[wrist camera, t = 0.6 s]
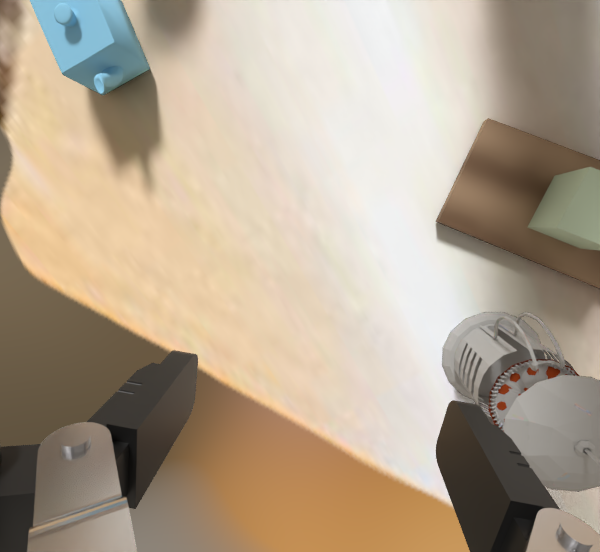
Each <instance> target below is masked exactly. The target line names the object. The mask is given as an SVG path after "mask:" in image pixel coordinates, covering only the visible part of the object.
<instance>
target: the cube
mask: <svg viewBox="0 0 600 552" xmlns="http://www.w3.org/2000/svg"><path fill="white" fill-rule="evenodd" d="M528 228H530V229H533V230H535V231H538V232H540V233H543V234H545V235H548V236H550V237H553V238H555V239H558V240H560V241H563V242H565V243H568V244H570V245H573V246H575V247H578V248H580V249H590V250H600V170H598V169H595V168H593V167H587V168H583V169H579V170H575V171H571V172H567V173H563V174H559V175H555V176H554V178H553V180H552V182H551V183H550V185H549V187H548V189H547V191H546V193H545V195H544V197H543V199H542V200H541V202H540V204H539V206H538V208H537V210H536V212H535V214H534V215H533V217H532V219H531V221H530V223H529V225H528Z"/></svg>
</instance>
